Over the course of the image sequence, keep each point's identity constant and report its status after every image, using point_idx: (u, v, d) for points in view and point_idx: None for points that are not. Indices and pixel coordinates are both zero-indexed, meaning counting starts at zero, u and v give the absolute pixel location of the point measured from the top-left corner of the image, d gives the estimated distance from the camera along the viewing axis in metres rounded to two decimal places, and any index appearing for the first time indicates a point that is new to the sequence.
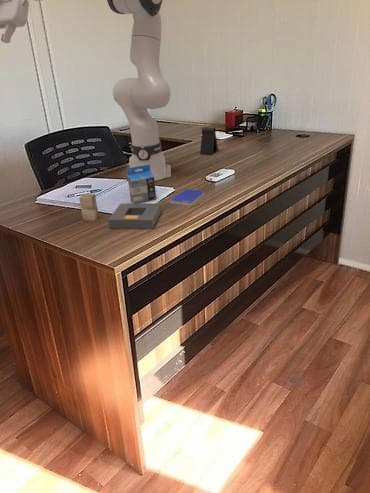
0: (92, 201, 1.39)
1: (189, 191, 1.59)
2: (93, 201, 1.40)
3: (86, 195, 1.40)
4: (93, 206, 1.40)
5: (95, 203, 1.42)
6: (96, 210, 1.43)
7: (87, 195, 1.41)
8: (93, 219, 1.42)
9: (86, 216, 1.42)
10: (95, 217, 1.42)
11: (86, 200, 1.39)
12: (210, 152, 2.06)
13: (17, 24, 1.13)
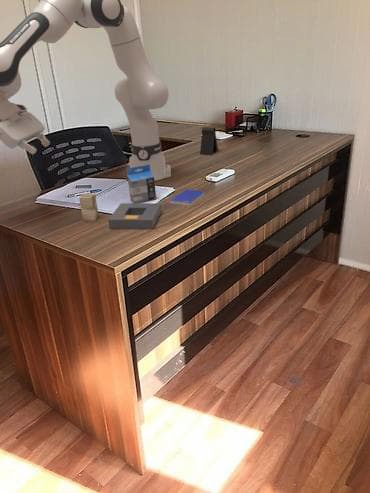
0: (92, 201, 1.39)
1: (189, 191, 1.59)
2: (93, 201, 1.40)
3: (86, 195, 1.40)
4: (93, 206, 1.40)
5: (95, 203, 1.42)
6: (96, 210, 1.43)
7: (87, 195, 1.41)
8: (93, 219, 1.42)
9: (86, 216, 1.42)
10: (95, 217, 1.42)
11: (86, 200, 1.39)
12: (210, 152, 2.06)
13: (17, 143, 1.26)
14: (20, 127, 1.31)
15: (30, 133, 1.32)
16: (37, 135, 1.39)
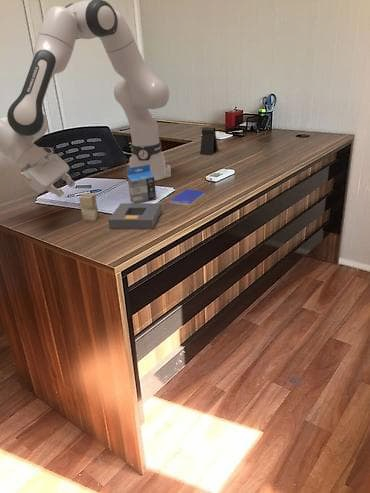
0: (92, 201, 1.39)
1: (189, 191, 1.59)
2: (93, 201, 1.40)
3: (86, 195, 1.40)
4: (93, 206, 1.40)
5: (95, 203, 1.42)
6: (96, 210, 1.43)
7: (87, 195, 1.41)
8: (93, 219, 1.42)
9: (86, 216, 1.42)
10: (95, 217, 1.42)
11: (86, 200, 1.39)
12: (210, 152, 2.06)
13: (45, 188, 1.32)
14: (48, 171, 1.36)
15: (57, 176, 1.38)
16: (63, 176, 1.44)
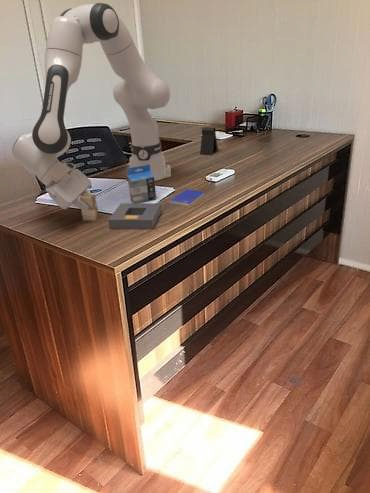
0: (92, 201, 1.39)
1: (189, 191, 1.59)
2: (93, 201, 1.40)
3: (86, 195, 1.40)
4: (93, 206, 1.40)
5: (95, 203, 1.42)
6: (96, 210, 1.43)
7: (86, 194, 1.41)
8: (93, 219, 1.42)
9: (86, 216, 1.42)
10: (95, 217, 1.42)
11: (86, 200, 1.39)
12: (210, 152, 2.06)
13: (70, 204, 1.33)
14: (71, 187, 1.37)
15: (80, 192, 1.39)
16: (83, 193, 1.44)
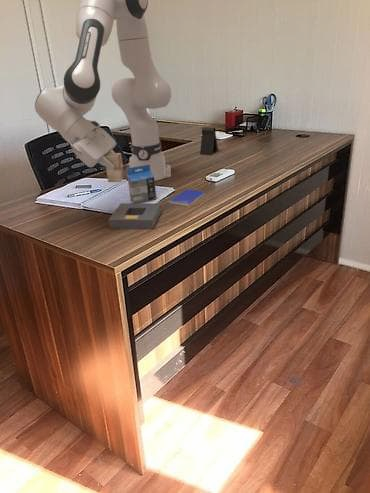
0: (118, 160, 1.31)
1: (189, 191, 1.59)
2: (119, 161, 1.32)
3: (112, 154, 1.32)
4: (119, 166, 1.32)
5: (121, 163, 1.34)
6: (122, 171, 1.35)
7: (112, 154, 1.32)
8: (119, 180, 1.33)
9: (111, 177, 1.33)
10: (121, 178, 1.34)
11: (112, 159, 1.30)
12: (210, 152, 2.06)
13: (96, 162, 1.25)
14: (97, 145, 1.29)
15: (106, 150, 1.31)
16: None
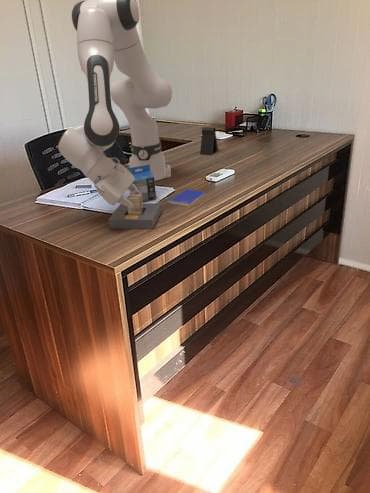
0: (139, 202, 1.36)
1: (189, 191, 1.59)
2: (140, 202, 1.37)
3: (133, 196, 1.37)
4: (140, 207, 1.37)
5: (141, 204, 1.39)
6: (142, 211, 1.40)
7: (133, 195, 1.38)
8: None
9: None
10: None
11: (133, 201, 1.36)
12: (210, 152, 2.06)
13: (118, 200, 1.29)
14: (118, 182, 1.33)
15: (126, 187, 1.35)
16: (129, 187, 1.41)
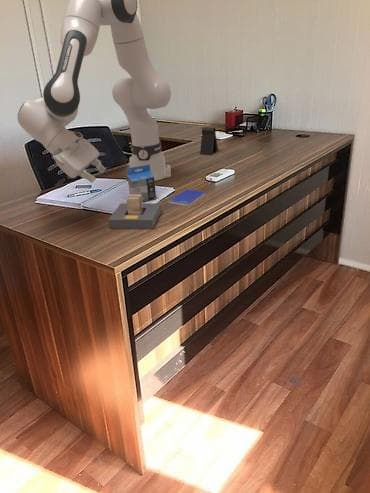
0: (139, 202, 1.36)
1: (189, 191, 1.59)
2: (140, 202, 1.37)
3: (133, 196, 1.37)
4: (140, 207, 1.37)
5: (141, 204, 1.39)
6: (142, 211, 1.40)
7: (133, 195, 1.38)
8: None
9: None
10: None
11: (133, 201, 1.36)
12: (210, 152, 2.06)
13: (78, 173, 1.27)
14: (79, 156, 1.31)
15: (88, 161, 1.33)
16: (93, 162, 1.39)
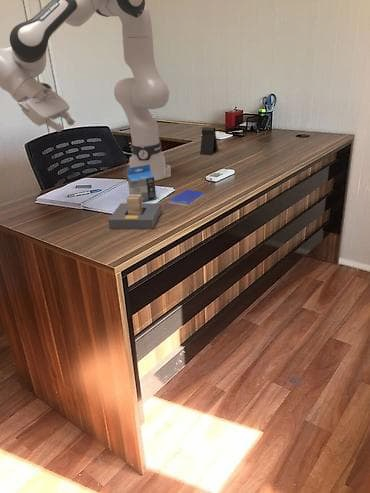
0: (139, 202, 1.36)
1: (189, 192, 1.59)
2: (140, 202, 1.37)
3: (133, 196, 1.37)
4: (140, 207, 1.37)
5: (141, 204, 1.39)
6: (142, 211, 1.40)
7: (133, 195, 1.38)
8: None
9: None
10: None
11: (133, 201, 1.36)
12: (210, 152, 2.06)
13: (44, 121, 1.26)
14: (46, 105, 1.30)
15: (56, 111, 1.32)
16: (62, 114, 1.38)
